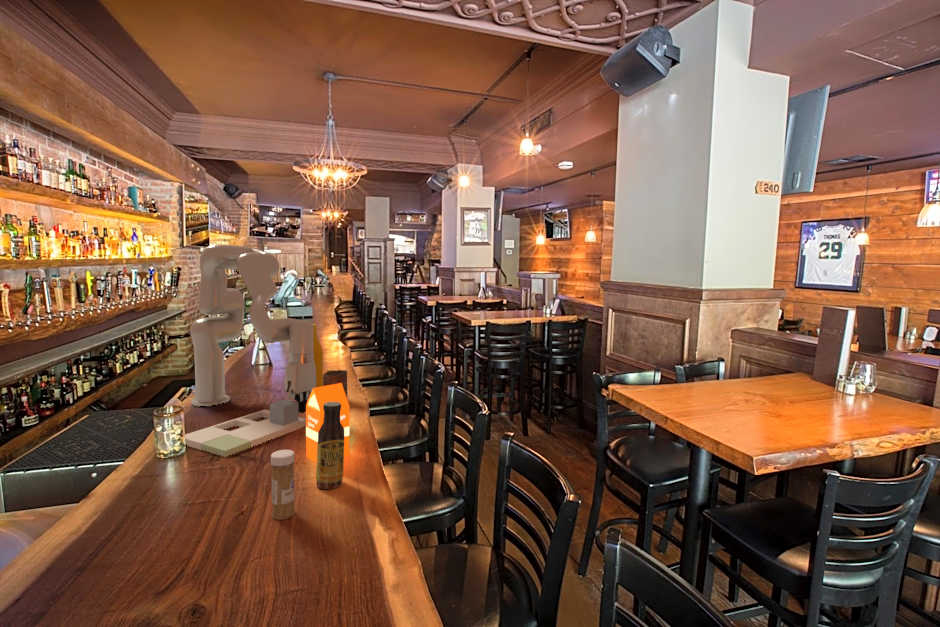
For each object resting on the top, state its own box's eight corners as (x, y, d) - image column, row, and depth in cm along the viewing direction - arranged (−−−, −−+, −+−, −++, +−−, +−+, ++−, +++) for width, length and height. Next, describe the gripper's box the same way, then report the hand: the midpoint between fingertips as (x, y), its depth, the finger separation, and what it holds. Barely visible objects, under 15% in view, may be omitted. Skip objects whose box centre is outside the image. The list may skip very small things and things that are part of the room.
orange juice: (349, 456, 127) (349, 385, 125) (320, 465, 121) (320, 391, 119) (334, 448, 133) (334, 380, 131) (305, 456, 126) (305, 385, 124)
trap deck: (178, 443, 133) (178, 436, 133) (265, 414, 160) (265, 409, 159) (225, 457, 124) (225, 450, 124) (308, 424, 151) (308, 419, 151)
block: (269, 422, 147) (269, 403, 146) (285, 417, 152) (284, 399, 151) (283, 425, 144) (283, 406, 143) (298, 420, 149) (298, 402, 149)
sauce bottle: (318, 493, 107) (318, 409, 105) (314, 481, 112) (313, 401, 110) (347, 487, 110) (347, 405, 108) (341, 476, 115) (341, 398, 113)
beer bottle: (328, 396, 184) (328, 324, 181) (308, 401, 176) (308, 326, 173) (312, 392, 189) (312, 322, 186) (293, 397, 181) (292, 324, 178)
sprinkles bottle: (293, 519, 95) (292, 456, 94) (269, 521, 94) (268, 458, 93) (296, 508, 100) (295, 448, 98) (273, 510, 99) (273, 449, 97)
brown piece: (340, 439, 139) (340, 374, 137) (318, 437, 141) (317, 372, 139) (351, 431, 147) (352, 369, 145) (330, 428, 148) (330, 367, 146)
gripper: (309, 353, 161) (309, 404, 163) (274, 360, 148) (275, 416, 149) (326, 355, 158) (326, 407, 160) (292, 363, 144) (292, 420, 146)
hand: (301, 411), depth 154 cm, fingers closed
